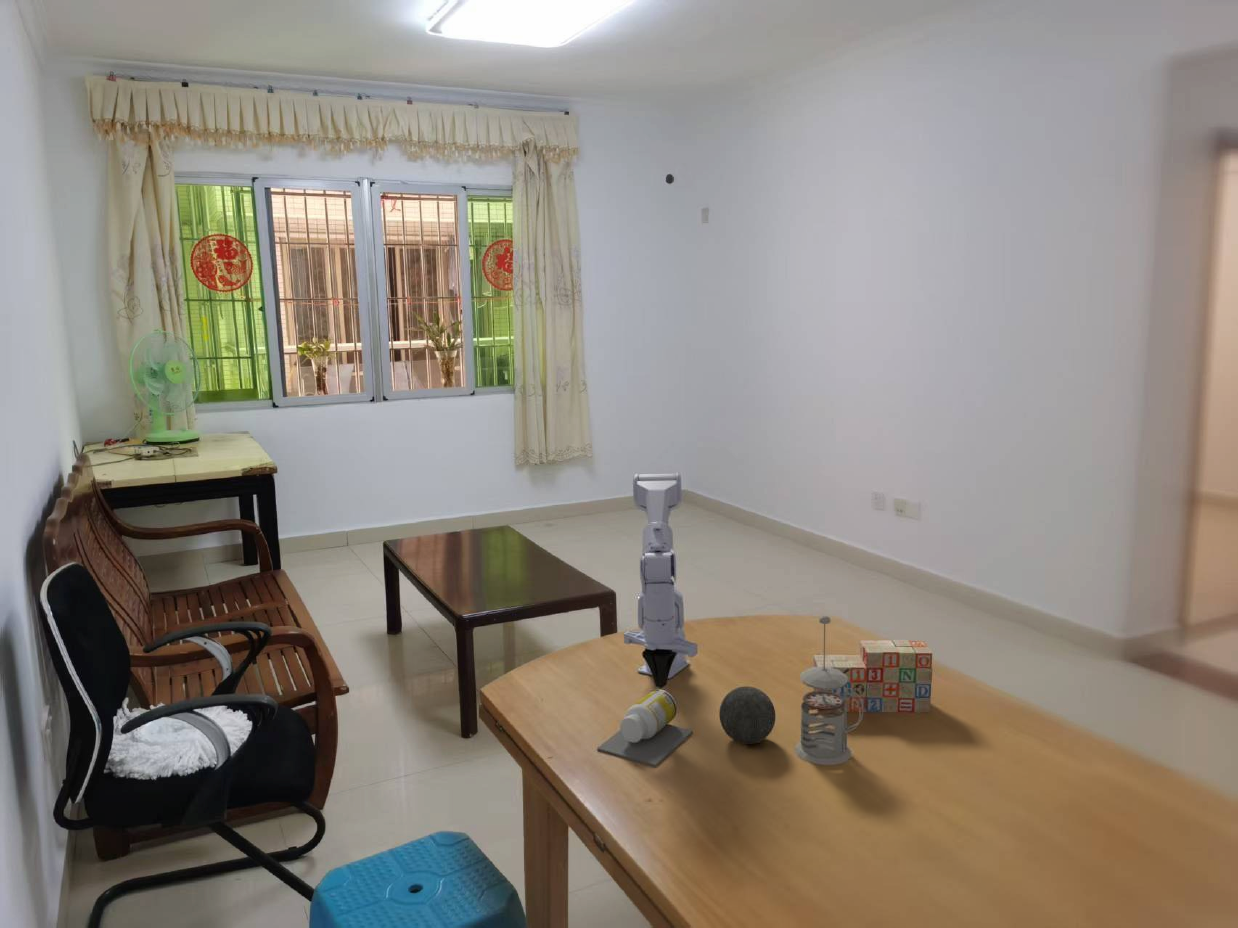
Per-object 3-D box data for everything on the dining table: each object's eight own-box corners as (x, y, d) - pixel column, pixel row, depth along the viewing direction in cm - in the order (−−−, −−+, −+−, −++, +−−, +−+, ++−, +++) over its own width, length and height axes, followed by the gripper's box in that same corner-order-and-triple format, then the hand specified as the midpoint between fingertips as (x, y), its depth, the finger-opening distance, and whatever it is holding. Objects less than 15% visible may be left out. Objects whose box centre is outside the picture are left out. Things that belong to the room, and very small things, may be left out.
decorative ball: (770, 757, 155) (770, 704, 153) (714, 750, 158) (713, 697, 156) (779, 731, 164) (779, 680, 162) (726, 724, 167) (725, 674, 165)
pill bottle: (644, 706, 171) (610, 732, 161) (656, 681, 168) (622, 705, 159) (671, 727, 168) (638, 754, 159) (683, 702, 166) (651, 728, 156)
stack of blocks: (816, 712, 171) (817, 652, 169) (812, 698, 177) (813, 639, 175) (931, 713, 169) (933, 652, 167) (922, 698, 175) (924, 639, 173)
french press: (805, 732, 163) (806, 602, 158) (869, 747, 157) (872, 612, 153) (786, 756, 155) (787, 620, 150) (852, 773, 149) (855, 631, 144)
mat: (637, 718, 171) (637, 716, 171) (693, 732, 165) (693, 730, 164) (597, 750, 159) (597, 748, 159) (655, 766, 153) (655, 764, 153)
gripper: (614, 616, 163) (616, 685, 166) (684, 629, 156) (685, 702, 158) (634, 604, 169) (636, 671, 172) (702, 616, 161) (703, 686, 164)
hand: (661, 685), depth 165 cm, fingers closed
